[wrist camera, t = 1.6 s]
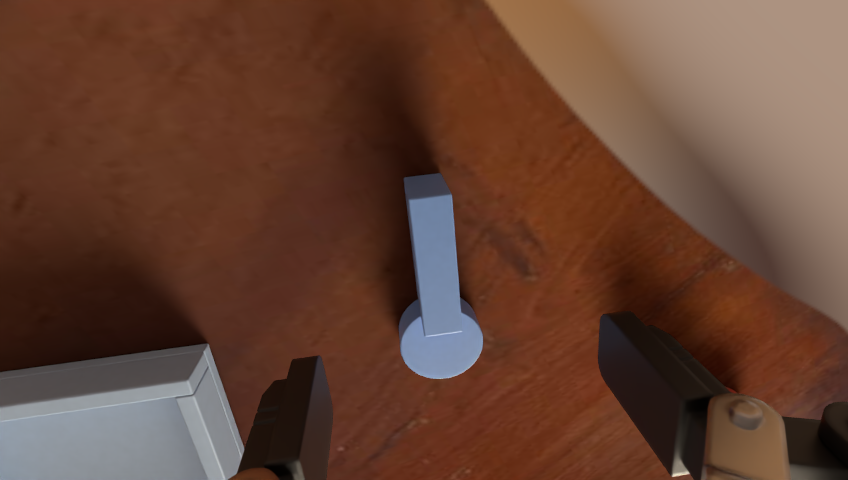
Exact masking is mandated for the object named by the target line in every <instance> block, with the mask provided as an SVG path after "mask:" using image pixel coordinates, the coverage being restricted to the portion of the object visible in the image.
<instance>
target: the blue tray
mask: <svg viewBox="0 0 848 480" xmlns="http://www.w3.org/2000/svg"><path fill="white" fill-rule="evenodd" d="M244 450H245V449H244V446H243V443H242V440H241V438H240V435H239V432H238V429H237V426H236V423H235V420H234V417H233V414H232V411H231V409H230V406H229V403H228V400H227V397H226V394H225V391H224V388H223V385H222V382H221V379H220V377H219V374H218V371H217V368H216V365H215V362H214V359H213V356H212V353H211V350H210V348H209V345H208V344H200V345H193V346H186V347H179V348H171V349H164V350H157V351H150V352H142V353H135V354H128V355H121V356H114V357H106V358H99V359H92V360H85V361H77V362H70V363H63V364H56V365H48V366H41V367H34V368H27V369H20V370H12V371H5V372H0V480H228V479H229V478H231V477H232V476H234V475H236V474H237V471H238V468H239V465H240V462H241V459H242V456H243V453H244Z"/></svg>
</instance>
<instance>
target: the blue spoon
mask: <svg viewBox="0 0 848 480" xmlns="http://www.w3.org/2000/svg"><path fill="white" fill-rule="evenodd" d="M404 187H405V195H406V204H407V212H408V220H409V228H410V237H411V245H412V253H413V262H414V270H415V278H416V287H417V295H418V299H417V300H416V301H414V302H413V303H412V304H411V305H409V306H408V307H407V309H406V310H405V311H404V313H403V315H402V317H401V319H400V323H399V338H400V351H401V355H402V358H403V360H404V361H405V363H406V364H407V366H408V367H409V368H410V369H411V370H413V371H414V372H416V373H417V374H419V375H421V376H424V377H428V378H434V379H442V378H449V377H453V376H456V375H458V374H460V373H462V372H464V371H466V370H467V369H468V368H470V367H471V366H472V365H473V364H474V363H475V361H476V360H477V358H478V357H479V355H480V353H481V350H482V346H483V335H482V332H481V329H480V326H479V323H478V321H477V318H476V315H475V313H474V311H473V309H472V308H471V306H470V305H469V304H468V303H467V302H466V301H464V300H463V299H461V298H460V291H459V279H458V266H457V253H456V241H455V228H454V215H453V202H452V194H451V192H450V190H449V188H448V186H447V184H446V182H445V180H444V179H443V177H442V175H441V173H436V174H428V175H420V176H412V177H405V178H404Z"/></svg>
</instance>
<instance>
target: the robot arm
mask: <svg viewBox="0 0 848 480" xmlns="http://www.w3.org/2000/svg"><path fill="white" fill-rule="evenodd" d="M598 363H599V369H600V372H601V375H602V377H603V379H604V381H605V382H606V384H607V385H608V387H609V388H610V390H611V391H612V392H613V394H614V395H615V397H616V398H617V400H618V401H619V402H620V404H621V405H622V407H623V408H624V410H625V411H626V412H627V414H628V415H629V417H630V418H631V420H632V421H633V422H634V424H635V425H636V427H637V428H638V430H639V431H640V432H641V434H642V435H643V437H644V438H645V439H646V441H647V442H648V444H649V445H650V447H651V448H652V449H653V451H654V452H655V454H656V455H657V457H658V458H659V459H660V461H661V462H662V464H663V465H664V467H665V468H666V469H667V471H668V472H669V474H670V475H671V477H673V476H679V475H685V474H690V475H691V476H692V477H693V479H694V480H848V402H836V403H832V404H829V405H828V406H826V407H825V409H824V412H823V415H822V418H821V420H814V419H803V418H792V417H782V416H780V415H779V413H778V412H777V411H776V410H775V409H773V408H772V407H771V406H769V405H768V404H766V403H764V402H763V401H761V400H759V399H756V398H754V397H751V396H748V395H744V394H739V393H731V392H730V391H729V390H728V389H727V388H726V387H725V386H724V385H723V384H722V383H721V382H720V381H719V380H717V379H716V378H715V377H714V376H713V375H712V374H711V373H710V372H709V371H708V370H707V369H706V368H705V367H704V366H703V365H702V364H701V363H700V362H699V361H698V360H696V359H694V358H693V356H692V355H691V354H690V353H689V352H688V351H687V350H686V349H683V346H682V345H681V344H680V343H679V342H678V341H676V340H675V339H674V338H673V337H672V336H671V335H670V334H668V333H666V332H664V331H663V330H661V329H659V328H657V327H655V326H653V325H650V326H646V325H645V324H644V323H643V322H642V321H641V320H640V319H639V318H638V317H637V316H636V315H635V314H634V313H633V312H631V311H622V312H616V313H609V314H603V315H602V316H601V319H600V330H599V350H598ZM257 411H258V413H256V416H255V419H254V422H253V426H252V428H251V431H250V434H249V437H248V441H247V444H246V447H245V450H244V453H243V456H242V459H241V462H240V465H239V468H238V471H237V474H236V475H234V476H232V477H231V478H229V479H228V480H326V476H327V467H328V458H329V450H330V441H331V432H332V423H333V409H332V401H331V396H330V392H329V387H328V383H327V379H326V375H325V370H324V366H323V362H322V359H321V357H320V356H312V357H305V358H299V359H293V360H292V362H291V365H290V369H289V372H288V376H287V379H283V380H277V381H274V382H273V383H272V384H271V385H270V387H269V388H268V389H267V390H266V391H265V393H264V394H263V395H262V398H261V401H260V404H259V407H258V410H257Z"/></svg>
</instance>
